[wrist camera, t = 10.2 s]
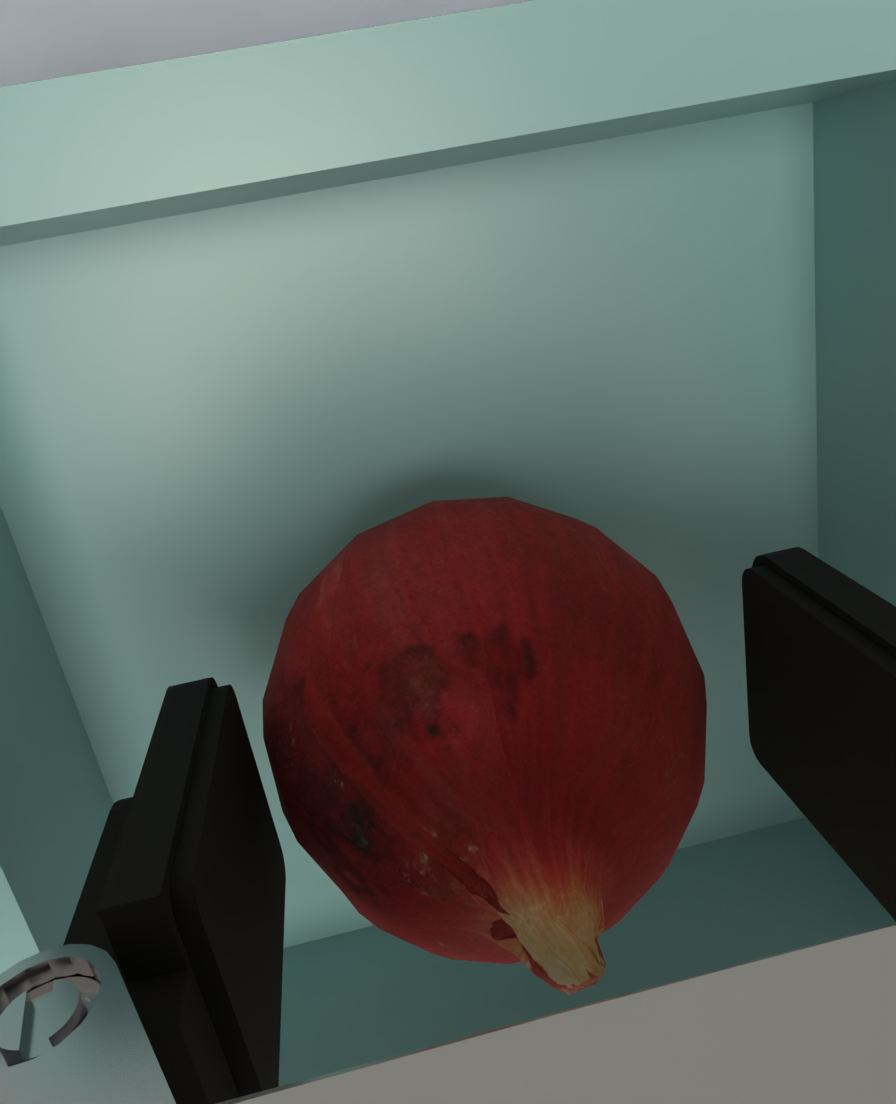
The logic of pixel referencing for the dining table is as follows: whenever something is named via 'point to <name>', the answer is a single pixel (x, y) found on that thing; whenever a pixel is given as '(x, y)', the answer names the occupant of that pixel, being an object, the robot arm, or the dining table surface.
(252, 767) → the robot arm
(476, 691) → the pomegranate
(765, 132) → the bin
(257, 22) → the dining table surface
